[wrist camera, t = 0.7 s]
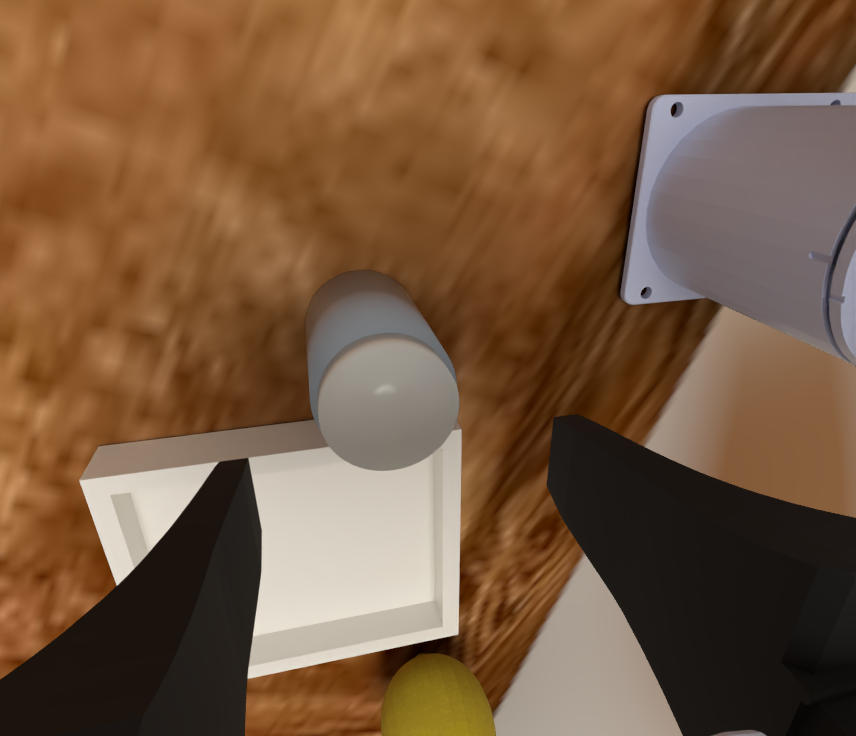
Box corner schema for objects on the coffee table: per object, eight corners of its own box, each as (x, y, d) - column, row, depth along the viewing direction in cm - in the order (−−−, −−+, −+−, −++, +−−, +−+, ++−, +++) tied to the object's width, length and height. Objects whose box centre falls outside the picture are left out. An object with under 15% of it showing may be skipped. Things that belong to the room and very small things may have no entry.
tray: (447, 403, 24) (461, 429, 22) (447, 599, 29) (458, 634, 27) (98, 446, 21) (79, 480, 19) (166, 654, 26) (157, 697, 24)
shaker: (415, 265, 21) (467, 331, 15) (417, 368, 23) (464, 465, 17) (298, 274, 20) (302, 348, 14) (311, 380, 22) (319, 486, 16)
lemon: (414, 701, 32) (449, 867, 25) (350, 664, 30) (369, 838, 23) (486, 646, 31) (543, 801, 24) (428, 604, 29) (472, 763, 22)
